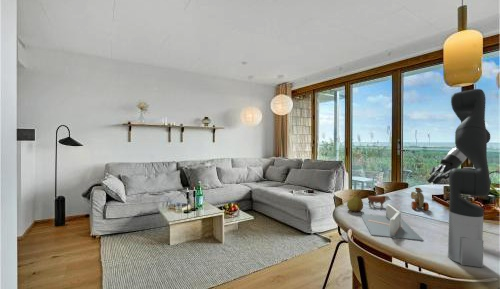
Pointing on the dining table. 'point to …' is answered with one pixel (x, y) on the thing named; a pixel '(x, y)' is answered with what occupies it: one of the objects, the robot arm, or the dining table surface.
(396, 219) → the fence fixed
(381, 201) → the bull figurine
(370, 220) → the card
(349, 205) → the fruit
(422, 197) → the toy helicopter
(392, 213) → the fence gate
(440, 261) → the dining table surface
